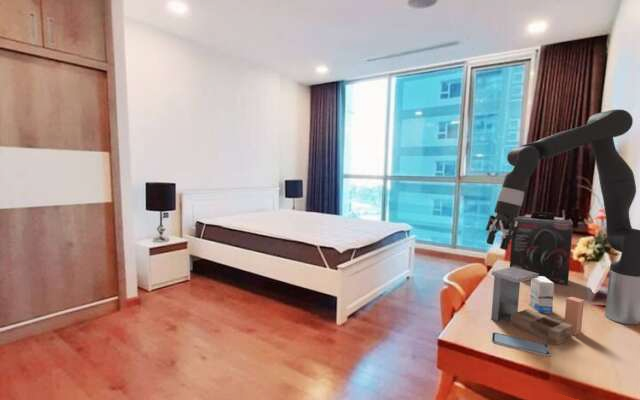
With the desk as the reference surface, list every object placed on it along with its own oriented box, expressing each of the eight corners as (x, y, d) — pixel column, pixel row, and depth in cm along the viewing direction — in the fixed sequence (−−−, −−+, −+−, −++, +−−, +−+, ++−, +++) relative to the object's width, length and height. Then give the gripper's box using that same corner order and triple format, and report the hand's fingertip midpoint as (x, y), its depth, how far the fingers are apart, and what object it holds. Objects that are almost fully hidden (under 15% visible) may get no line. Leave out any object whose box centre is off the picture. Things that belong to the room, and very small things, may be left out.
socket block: (526, 319, 118) (527, 308, 118) (571, 337, 106) (572, 325, 106) (510, 325, 113) (511, 314, 113) (555, 345, 101) (556, 332, 101)
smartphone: (492, 331, 108) (547, 343, 101) (492, 334, 108) (547, 346, 101) (491, 341, 102) (550, 355, 94) (491, 344, 102) (550, 358, 94)
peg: (568, 327, 113) (571, 296, 112) (580, 332, 110) (584, 300, 108) (563, 330, 111) (566, 298, 110) (575, 334, 108) (579, 302, 107)
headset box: (507, 275, 168) (512, 210, 165) (510, 269, 178) (515, 208, 175) (568, 286, 153) (575, 215, 150) (567, 279, 163) (574, 213, 160)
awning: (509, 311, 125) (513, 266, 123) (534, 321, 117) (538, 273, 115) (488, 318, 118) (491, 271, 117) (513, 329, 111) (517, 279, 109)
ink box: (552, 313, 123) (555, 283, 122) (537, 312, 124) (540, 282, 123) (542, 304, 132) (544, 275, 131) (528, 303, 133) (530, 274, 132)
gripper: (533, 207, 109) (518, 254, 111) (506, 203, 124) (494, 244, 125) (511, 201, 109) (497, 248, 110) (488, 198, 123) (475, 239, 124)
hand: (496, 246), depth 118 cm, fingers open, 8 cm apart
